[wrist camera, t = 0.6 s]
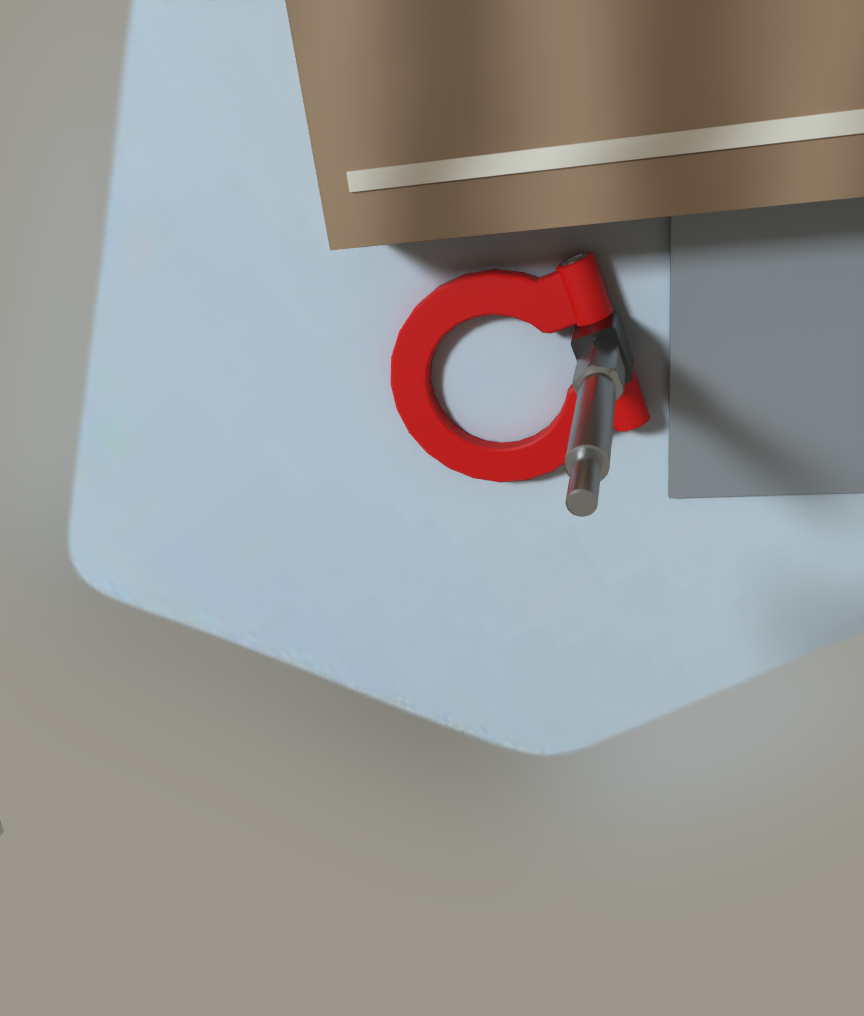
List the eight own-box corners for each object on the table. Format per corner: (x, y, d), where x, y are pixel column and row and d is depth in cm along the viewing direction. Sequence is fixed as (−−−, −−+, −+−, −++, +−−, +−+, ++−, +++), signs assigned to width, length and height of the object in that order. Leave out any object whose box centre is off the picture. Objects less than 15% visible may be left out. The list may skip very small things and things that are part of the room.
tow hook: (447, 492, 36) (659, 429, 32) (358, 694, 25) (666, 632, 21) (363, 313, 32) (588, 221, 29) (218, 453, 21) (552, 333, 18)
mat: (1071, 169, 25) (1076, 170, 25) (1002, 484, 31) (1005, 488, 30) (670, 210, 28) (671, 212, 28) (668, 494, 33) (669, 498, 33)
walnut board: (1122, -267, 21) (1228, -332, 17) (1038, 156, 25) (1108, 172, 22) (307, -104, 26) (260, -129, 22) (360, 227, 30) (329, 251, 27)
